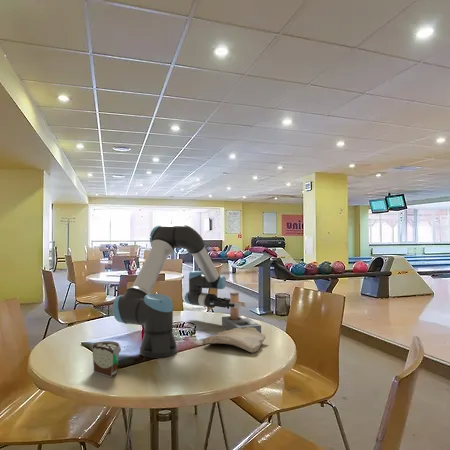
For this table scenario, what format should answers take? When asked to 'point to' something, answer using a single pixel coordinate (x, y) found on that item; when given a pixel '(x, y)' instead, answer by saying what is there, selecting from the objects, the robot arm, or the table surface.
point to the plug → (234, 311)
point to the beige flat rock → (239, 338)
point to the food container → (106, 357)
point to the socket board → (240, 323)
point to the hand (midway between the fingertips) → (242, 305)
